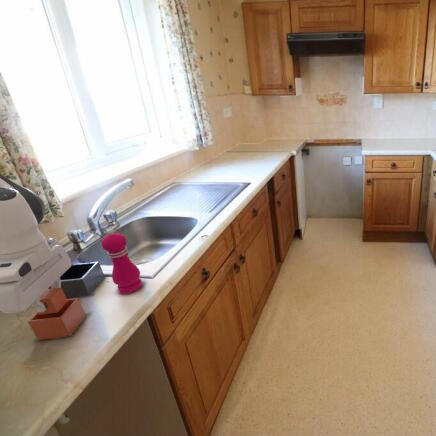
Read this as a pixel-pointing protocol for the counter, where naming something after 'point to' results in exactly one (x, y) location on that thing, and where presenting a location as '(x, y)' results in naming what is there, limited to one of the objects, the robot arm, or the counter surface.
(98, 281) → the grey bin
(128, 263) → the pepper mill
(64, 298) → the terracotta block
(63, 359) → the counter surface
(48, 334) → the terracotta bin
